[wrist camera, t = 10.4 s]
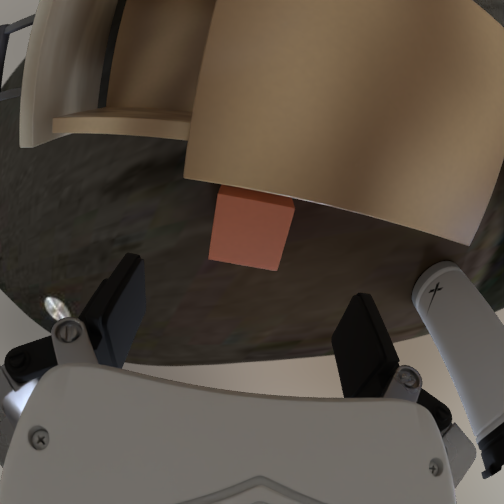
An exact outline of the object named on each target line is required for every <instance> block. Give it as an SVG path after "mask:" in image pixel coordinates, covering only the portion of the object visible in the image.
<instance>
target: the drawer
mask: <svg viewBox="0 0 504 504" xmlns="http://www.w3.org/2000/svg"><path fill="white" fill-rule="evenodd" d="M117 2H118V0H40V1H39V5H38V8H37V11H36V14H34V15H32V16H29V17H27V18H24V19H22V20H20V21H17V22H15V23H13V24H11V25H10V24H6V25H1V26H0V101H1V100H5V99H10V98H14V97H19V96H21V104H20V148H31V147H35V146H38V145H40V144H43V143H45V142H48V141H51V140H54V139H56V138H59V137H62V136H65V135H68V134H71V133H99V134H121V135H136V136H148V137H159V138H169V139H178V140H186V141H188V136H189V129H190V122H191V116H192V110H193V104H194V98H195V92H196V87H197V82H198V76H199V71H200V66H201V62H202V57H203V52H204V48H205V43H206V39H207V34H208V30H209V26H210V22H211V18H212V14H213V10H214V7H215V3H216V0H127V1H126V4H125V8H124V12H123V15H122V19H121V23H120V27H119V31H118V36H117V40H116V45H115V50H114V55H113V61H112V66H111V72H110V79H109V86H108V94H107V102H106V107H104V108H98V98H99V90H100V82H101V75H102V69H103V63H104V57H105V52H106V47H107V42H108V37H109V33H110V29H111V24H112V20H113V17H114V13H115V9H116V6H117ZM30 25H33V26H32V30H31V34H30V39H29V43H28V48H27V54H26V60H25V66H24V73H23V81H22V87H19V88H15V89H11V90H7V91H3V92H1V83H2V75H3V68H4V60H5V55H6V50H7V44H8V40H9V35H10V33H13V32H15V31H18V30H20V29H22V28H25V27H27V26H30ZM97 108H98V109H97Z"/></svg>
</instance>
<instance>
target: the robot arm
mask: <svg viewBox="0 0 504 504" xmlns="http://www.w3.org/2000/svg"><path fill="white" fill-rule="evenodd" d="M145 310H146V296H145V275H144V260H143V259H141V258H140V255H137V254H132V253H126V255H125V256H124V257H123V259H122V260H121V262H120V263H119V264H118V266H117V267H116V269H115V270H114V272H113V273H112V274H111V276H110V277H109V279H107V278H106V279H104V280H103V281H102V283H101V284H100V286H99V287H98V288H97V290H96V291H95V293H94V294H93V296H92V297H91V299H90V301H89V302H88V304H87V305H86V307H85V308H84V310H83V311H82V313H81V315H80V316H79V318H75V317H66V318H63V319H60V320H59V321H57V322H56V323H55V325H54V326H53V328H52V331H51V336H48V337H45V338H42V339H39V340H36V341H33V342H30V343H27V344H24V345H21V346H18V347H16V348H14V349H12V350H11V351H9V352H8V354H7V355H6V357H5V363H4V365H2V366H0V465H1V466H2V468H3V471H2V475H1V480H0V504H457V502H456V495H455V488H456V487H457V485H458V484H459V482H460V481H461V480H462V478H463V477H464V475H465V474H466V472H467V471H468V469H469V468H470V466H471V465H472V463H473V462H474V460H475V458H476V448H475V446H474V445H473V443H472V442H471V441H470V440H469V439H468V437H467V436H466V435H465V434H464V433H463V431H462V430H461V429H460V428H459V427H458V426H457V424H456V423H454V424H452V423H451V422H452V415H451V412H450V410H449V408H448V407H447V406H446V405H445V404H443V403H442V402H440V401H439V400H437V399H436V398H435V397H433V396H432V395H430V394H429V393H428V392H426V391H425V390H423V389H422V388H421V387H422V378H421V376H420V374H419V373H418V371H417V370H415V369H414V368H413V367H410V366H407V365H402V366H399V363H398V362H399V358H398V356H397V353H396V351H395V348H394V346H393V343H392V341H391V339H390V336H389V334H388V332H387V329H386V327H385V325H384V322H383V320H382V318H381V316H380V314H379V311H378V309H377V307H376V305H375V303H374V301H373V298H372V296H371V295H370V294H365V293H358V294H357V295H354V296H353V297H352V299H351V301H350V303H349V305H348V307H347V309H346V311H345V313H344V315H343V317H342V319H341V320H340V322H339V324H338V326H337V328H336V330H335V331H334V333H333V335H332V346H333V350H334V354H335V359H336V363H337V367H338V372H339V377H340V381H341V386H342V390H343V395H344V398H314V397H313V398H312V397H292V396H277V395H266V394H255V393H245V392H238V391H230V390H223V389H215V388H210V387H204V386H198V385H192V384H186V383H182V382H177V381H172V380H167V379H163V378H158V377H153V376H149V375H145V374H140V373H136V372H132V371H128V370H124V369H122V367H123V364H124V362H125V359H126V357H127V354H128V352H129V349H130V347H131V344H132V342H133V340H134V337H135V335H136V332H137V330H138V328H139V325H140V323H141V321H142V318H143V316H144V314H145ZM20 415H21V416H20Z"/></svg>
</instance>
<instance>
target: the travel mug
mask: <svg viewBox="0 0 504 504" xmlns="http://www.w3.org/2000/svg"><path fill="white" fill-rule="evenodd" d="M412 301H413V304H414V306H415V308H416V309H417V311H418V313H419V314H420V316H421V318H422V320H423V322H424V324H425V325H426V327H427V329H428V331H429V333H430V335H431V337H432V338H433V341H434V342H435V344H436V346H437V348H438V350H439V352H440V354H441V357H442V359H443V361H444V363H445V365H446V367H447V369H448V371H449V373H450V376H451V378H452V380H453V382H454V385H455V387H456V389H457V391H458V394H459V396H460V399H461V401H462V403H463V406H464V409H465V411H466V414H467V417H468V419H469V422H470V424H471V427H472V430H473V433H474V435H475V436H477V438H476V442H477V444H478V446H479V449H480V450H482V453H481V456H482V459H483V462H484V466H485V469H486V470H485V471H484V472H482V476H483V479H486V478H488V477H490V476H492V475H494V474H495V473H497V472H498V471H500V470H501V467H502V465H504V325H503V324H502V322H501V321H500V320H499V318H498V317H497V315H496V314H495V312H494V311H493V310H492V308H491V307H490V306H489V304H488V303H487V301H486V300H485V299H484V298H483V296H482V295H481V294H480V292H479V291H478V290H477V289H476V287H475V286H474V285H473V284H472V282H471V281H470V280H469V279H468V278H467V276H466V275H465V274H464V273H463V272H462V270H461V269H460V268H459V267H458V266H457V265H456V264H455V263H453V262H451V261H442V262H439V263H437V264H435V265H433V266H431V267H430V268H428V269H427V270H426V271H425V272H424V273H423V274H422V275H421V276H420V278H419V279H418V281H417V282H416V284H415V286H414V289H413V292H412Z"/></svg>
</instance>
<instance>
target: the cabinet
mask: <svg viewBox="0 0 504 504" xmlns="http://www.w3.org/2000/svg"><path fill="white" fill-rule="evenodd" d="M503 159H504V27H502V26H501V25H500V24H499V23H498V22H497V21H496V20H495V19H494V18H493V17H492V16H490V15H489V14H488V13H487V12H486V11H485V10H484V9H482V8H481V7H480V6H479V5H477V4H476V3H475V2H474V1H472V0H216V3H215V7H214V10H213V14H212V18H211V22H210V26H209V30H208V34H207V39H206V43H205V48H204V52H203V57H202V62H201V66H200V71H199V76H198V82H197V87H196V92H195V98H194V104H193V110H192V116H191V122H190V129H189V136H188V143H187V150H186V158H185V166H184V175H183V176H184V178H186V179H192V180H199V181H205V182H211V183H217V184H223V185H229V186H235V187H240V188H246V189H251V190H256V191H261V192H266V193H271V194H276V195H281V196H286V197H291V198H295V199H300V200H305V201H309V202H314V203H318V204H322V205H327V206H331V207H335V208H339V209H343V210H347V211H351V212H355V213H359V214H363V215H367V216H371V217H374V218H378V219H382V220H385V221H389V222H393V223H396V224H400V225H403V226H407V227H410V228H413V229H417V230H420V231H423V232H427V233H430V234H433V235H436V236H440V237H443V238H446V239H449V240H452V241H455V242H458V243H461V244H464V245H467V246H469V245H470V244H471V242H472V240H473V237H474V235H475V233H476V231H477V229H478V227H479V224H480V222H481V220H482V217H483V215H484V213H485V210H486V208H487V205H488V203H489V200H490V197H491V195H492V192H493V189H494V187H495V184H496V181H497V178H498V175H499V172H500V169H501V165H502V162H503Z"/></svg>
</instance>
